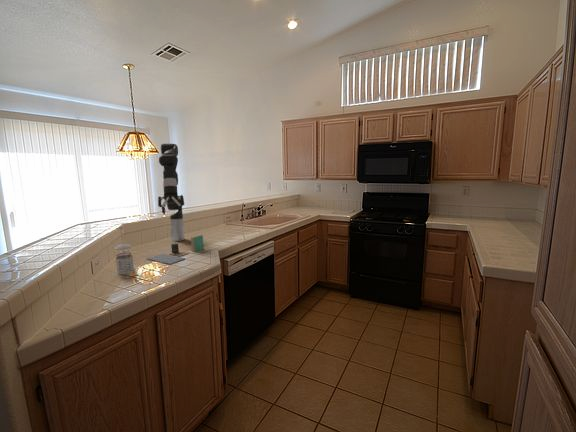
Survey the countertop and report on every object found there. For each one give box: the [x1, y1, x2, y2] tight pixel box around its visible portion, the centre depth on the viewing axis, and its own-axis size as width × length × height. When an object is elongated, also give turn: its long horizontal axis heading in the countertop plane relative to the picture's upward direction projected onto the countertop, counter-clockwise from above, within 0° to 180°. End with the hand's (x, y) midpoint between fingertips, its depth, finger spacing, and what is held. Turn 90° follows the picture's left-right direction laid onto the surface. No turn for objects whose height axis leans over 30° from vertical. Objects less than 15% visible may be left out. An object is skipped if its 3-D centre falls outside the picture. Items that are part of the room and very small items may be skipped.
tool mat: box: [146, 253, 186, 265], centre depth 173 cm, size 22×11×1 cm, turn 60°
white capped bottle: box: [114, 226, 136, 275], centre depth 151 cm, size 10×12×25 cm
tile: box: [190, 234, 204, 253], centre depth 190 cm, size 2×8×10 cm, turn 150°
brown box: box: [168, 242, 190, 258], centre depth 182 cm, size 10×7×7 cm
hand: (172, 213), depth 165 cm, fingers open, 8 cm apart
